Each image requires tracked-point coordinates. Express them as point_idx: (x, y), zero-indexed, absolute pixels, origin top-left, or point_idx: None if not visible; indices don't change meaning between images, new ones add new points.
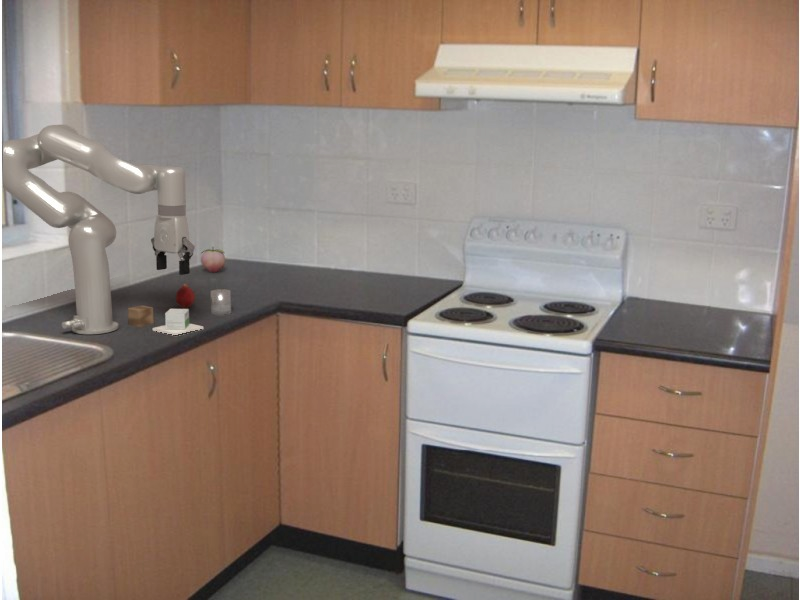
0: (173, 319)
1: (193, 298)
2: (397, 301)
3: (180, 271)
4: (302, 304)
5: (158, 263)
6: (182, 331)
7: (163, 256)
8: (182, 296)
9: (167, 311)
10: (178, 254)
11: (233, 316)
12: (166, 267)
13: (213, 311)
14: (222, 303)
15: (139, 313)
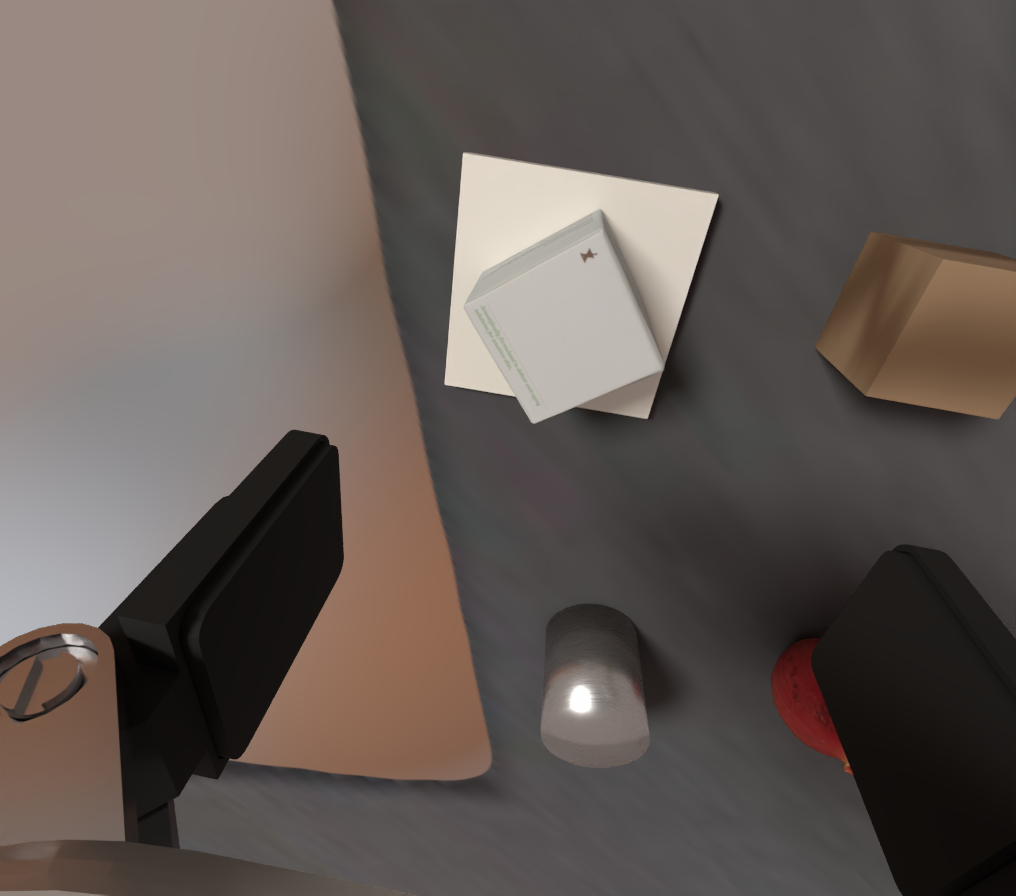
0: (541, 249)
1: (773, 694)
2: (214, 849)
3: (271, 456)
4: (407, 786)
5: (955, 641)
6: (464, 226)
7: (952, 866)
8: None
9: (621, 284)
10: (93, 831)
11: (501, 611)
12: (816, 669)
13: (605, 619)
14: (556, 661)
15: (923, 260)
